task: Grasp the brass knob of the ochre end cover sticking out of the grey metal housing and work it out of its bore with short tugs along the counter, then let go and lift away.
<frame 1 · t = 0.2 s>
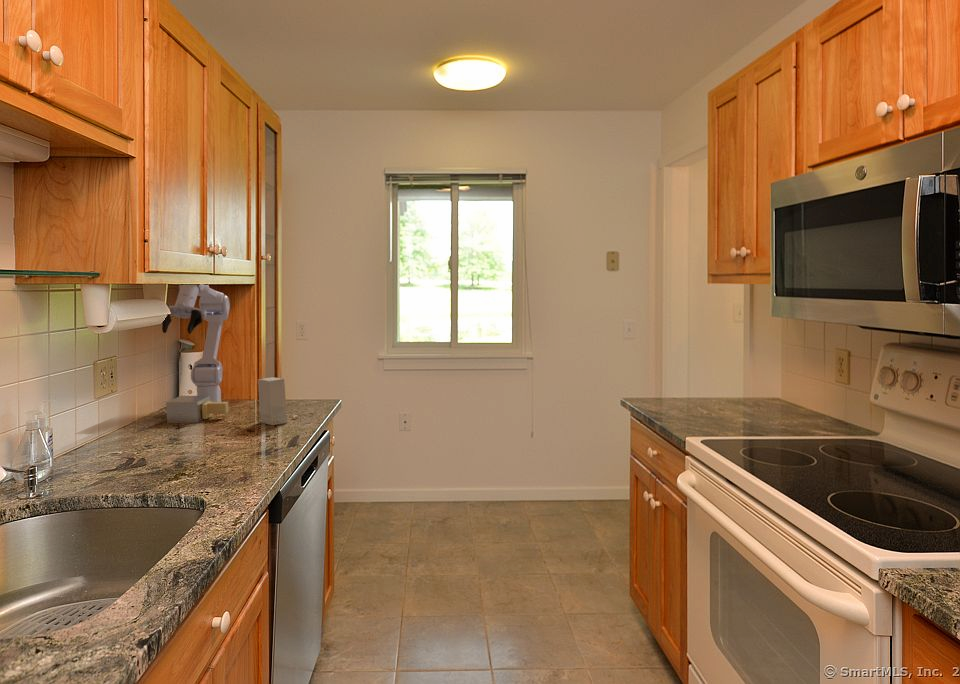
hand: (176, 331, 211), 31 cm above the table, tool tilted 45°, fingers open, 7 cm apart
skincare box: (273, 423, 217), on the table
end cover: (204, 410, 223), point 3 cm above the table, slide at 0.0 cm
housing: (189, 419, 223), on the table
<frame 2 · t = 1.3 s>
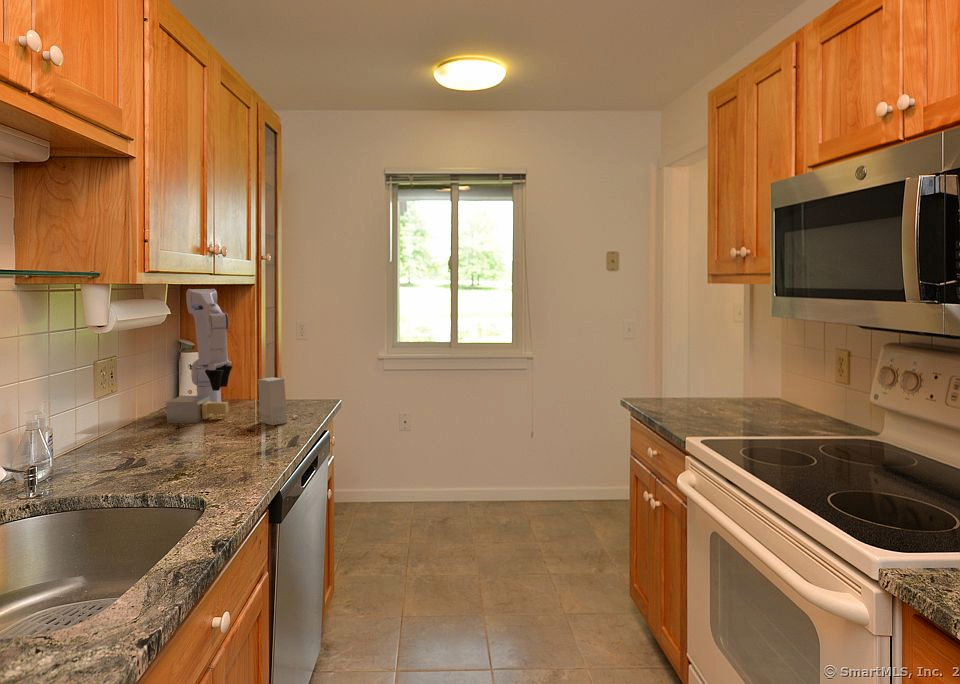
hand: (219, 388, 223), 10 cm above the table, tool pointing down, fingers open, 7 cm apart
nothing on the table moved.
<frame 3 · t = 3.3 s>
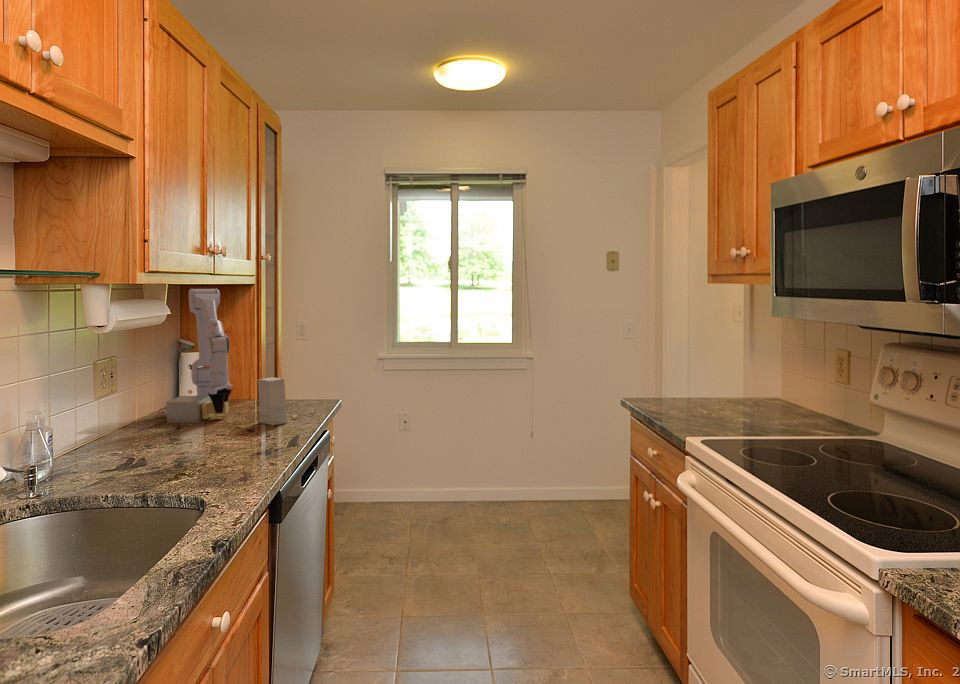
hand: (220, 411, 224), 2 cm above the table, tool pointing down, fingers closed on end cover, 3 cm apart
end cover: (204, 410, 223), point 3 cm above the table, slide at 0.0 cm, touching gripper
everything else where it was.
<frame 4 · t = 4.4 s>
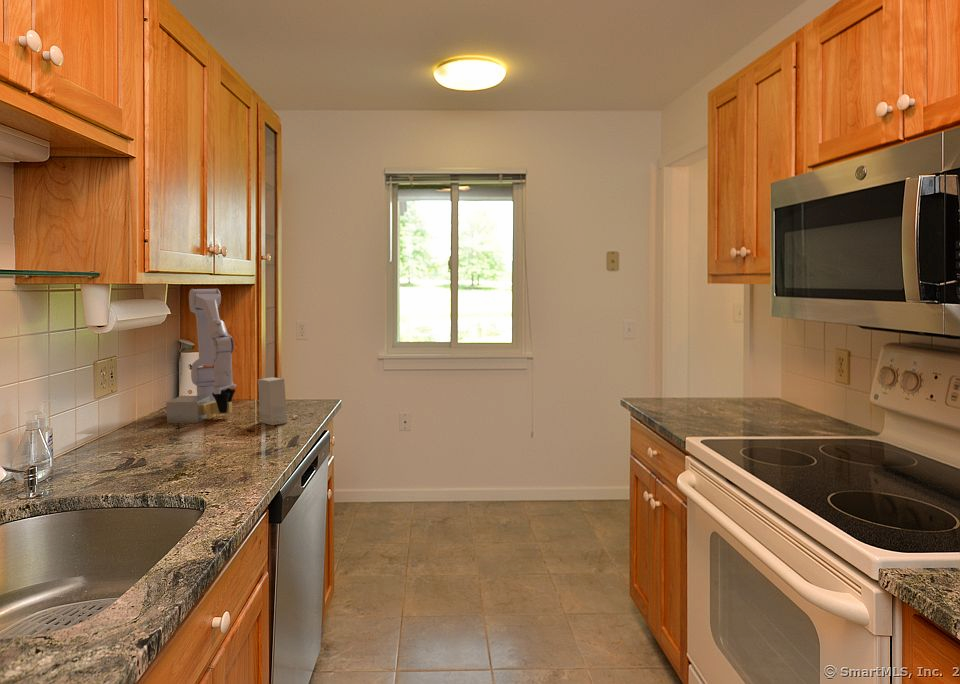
hand: (224, 411, 224), 2 cm above the table, tool pointing down, fingers closed on end cover, 3 cm apart
end cover: (208, 410, 224), point 3 cm above the table, slide at 1.3 cm, touching gripper
everything else where it was.
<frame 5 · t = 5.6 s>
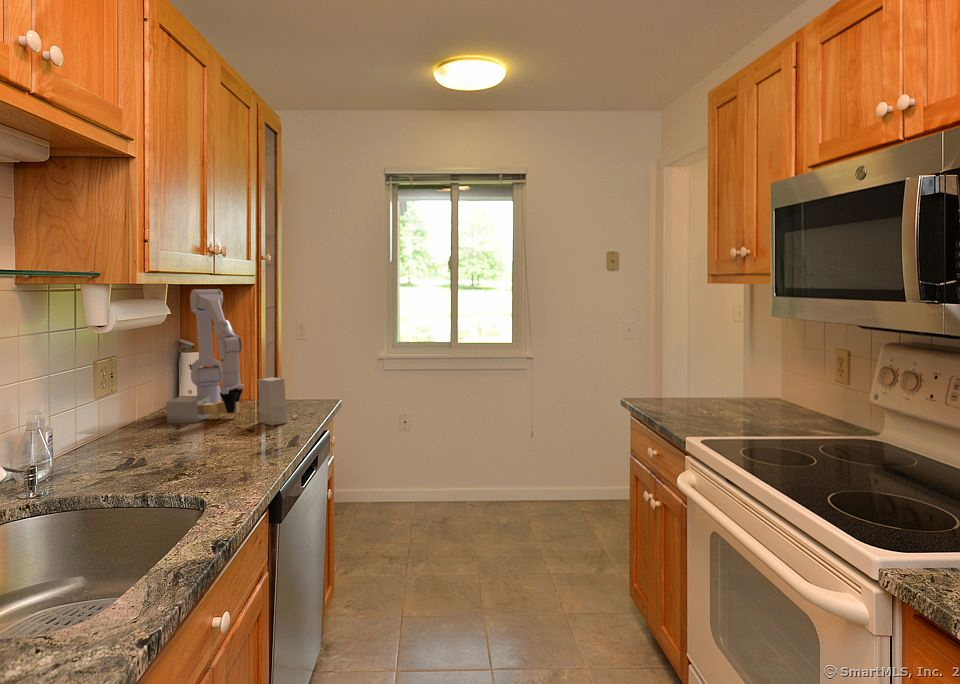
hand: (232, 411, 224), 2 cm above the table, tool pointing down, fingers closed on end cover, 3 cm apart
end cover: (215, 409, 224), point 3 cm above the table, slide at 3.7 cm, touching gripper
everything else where it was.
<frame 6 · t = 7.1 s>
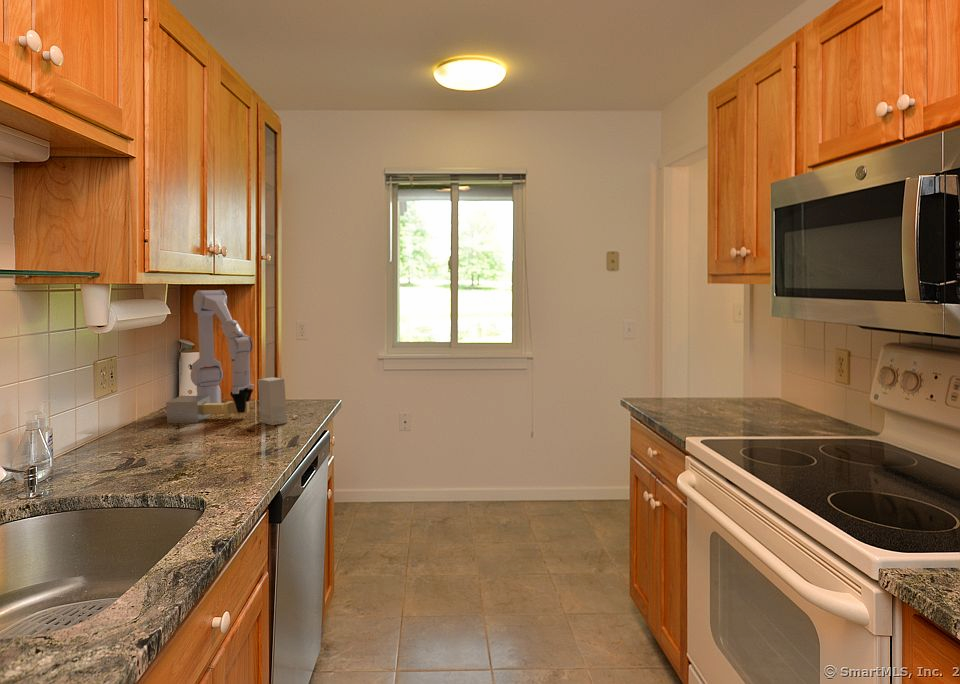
hand: (242, 411, 224), 2 cm above the table, tool pointing down, fingers closed on end cover, 3 cm apart
end cover: (225, 409, 224), point 3 cm above the table, slide at 7.1 cm, touching gripper
everything else where it was.
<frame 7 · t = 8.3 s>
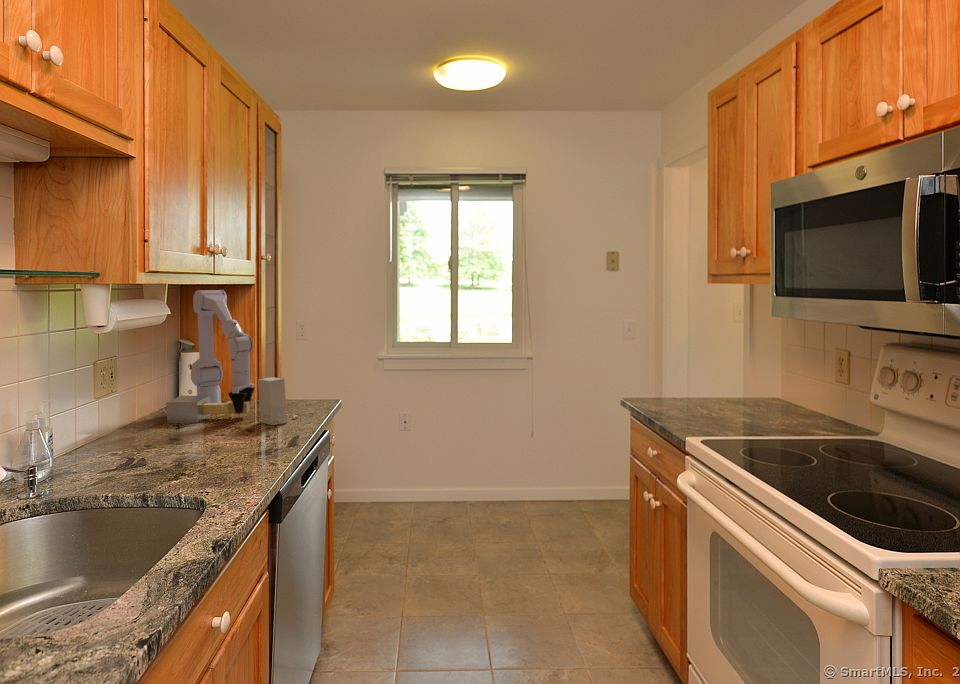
hand: (242, 410, 224), 3 cm above the table, tool pointing down, fingers open, 7 cm apart
end cover: (225, 409, 224), point 3 cm above the table, slide at 7.1 cm
everything else where it was.
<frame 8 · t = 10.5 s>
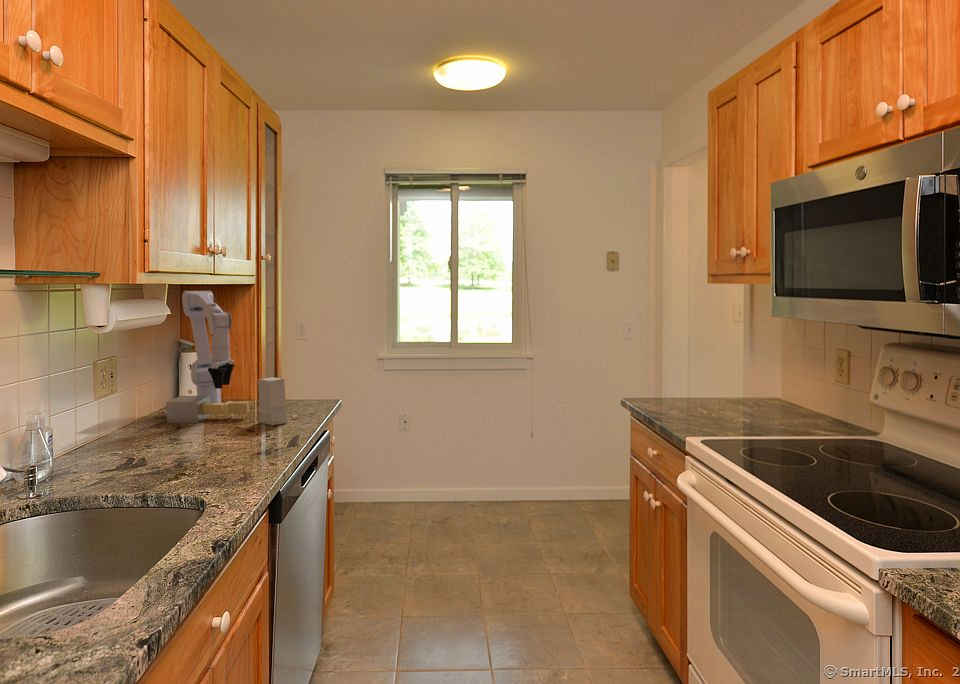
hand: (222, 386, 227), 10 cm above the table, tool pointing down, fingers open, 7 cm apart
nothing on the table moved.
at the end: end cover slide at 7.1 cm; the gripper is holding nothing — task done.
